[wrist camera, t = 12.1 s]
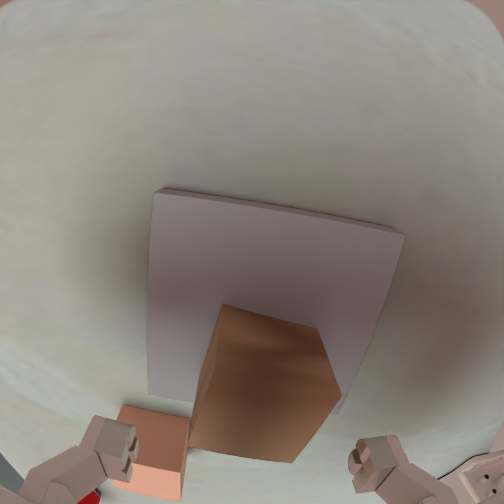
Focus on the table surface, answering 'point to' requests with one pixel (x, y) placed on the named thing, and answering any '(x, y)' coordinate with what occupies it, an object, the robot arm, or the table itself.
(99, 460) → the robot arm
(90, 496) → the beverage can
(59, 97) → the table surface
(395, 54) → the table surface
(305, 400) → the walnut brick
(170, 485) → the terracotta brick
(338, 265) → the base plate
